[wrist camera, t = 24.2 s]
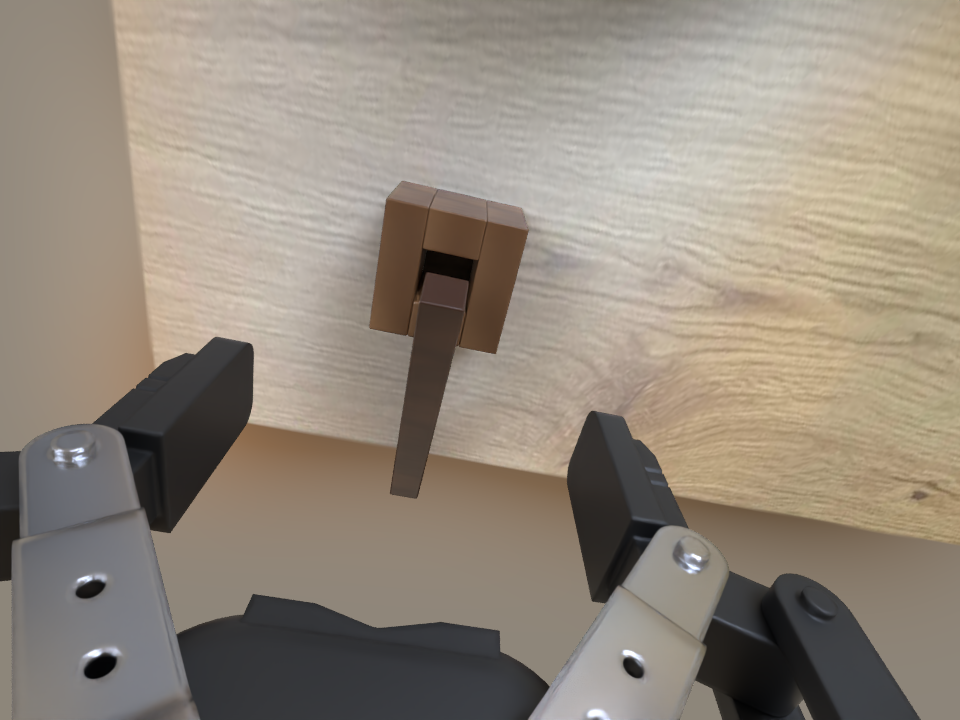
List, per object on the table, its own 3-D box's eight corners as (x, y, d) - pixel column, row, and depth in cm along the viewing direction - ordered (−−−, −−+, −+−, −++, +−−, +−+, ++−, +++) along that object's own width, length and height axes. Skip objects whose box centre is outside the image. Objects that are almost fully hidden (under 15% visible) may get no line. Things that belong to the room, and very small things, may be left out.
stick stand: (384, 294, 25) (368, 329, 21) (401, 180, 22) (386, 197, 19) (494, 317, 25) (495, 354, 22) (522, 207, 23) (528, 230, 19)
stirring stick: (426, 270, 19) (395, 469, 31) (418, 301, 18) (389, 494, 30) (469, 279, 19) (421, 474, 31) (464, 311, 18) (417, 499, 30)
